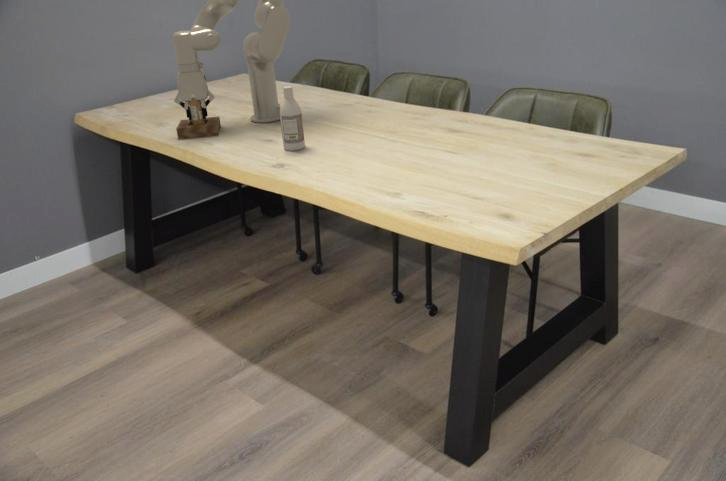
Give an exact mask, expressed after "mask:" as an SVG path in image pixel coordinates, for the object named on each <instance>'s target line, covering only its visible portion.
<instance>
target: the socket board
mask: <svg viewBox="0 0 726 481" xmlns="http://www.w3.org/2000/svg"><path fill="white" fill-rule="evenodd" d="M204 122H205V124H200V125H193V123H192V120H191V121H189V118H186V119H180V121H179V122H178V125H177V127H176V129H175V130H176V135H177V140H179V141H180V140H190V139H198V138H199V139H200V138H209V137H211V138H212V137H218V136H219V135H220V131H221V127H222V124H221V118H220V116H209V117H208V116H207V117H206V119H204Z"/></svg>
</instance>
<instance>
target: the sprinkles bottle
mask: <svg viewBox="0 0 726 481" xmlns="http://www.w3.org/2000/svg"><path fill="white" fill-rule="evenodd" d="M191 97H195V95H194V94H192V95H191ZM191 99H192V100H191V101H189V107H190V113H191V118H192V123H193V125H200V124H205V122H204V119H203V114H202V104H201V101H200V100H196V99H195V98H191Z"/></svg>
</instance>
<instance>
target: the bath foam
mask: <svg viewBox="0 0 726 481" xmlns="http://www.w3.org/2000/svg"><path fill="white" fill-rule="evenodd" d="M282 90H283V91H282V92H283V98H284V99H283V100H282V102H281V105H280V120H279V122H280V126H281V137H282V144H283V148H284V150H286V151H287V152H289V151H290V152H292V151H293V152H295V151H300V150H303V149H304V148H305V147H306V143H305V132H304V123H303V115H302V114H303V113H302V109H301V106H300V104H299V103H298V101H297V100H296V99H295V98H294V91H293V86H292V85H285V86H283V87H282Z"/></svg>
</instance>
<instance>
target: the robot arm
mask: <svg viewBox="0 0 726 481" xmlns="http://www.w3.org/2000/svg"><path fill="white" fill-rule="evenodd" d="M239 2H240V0H208V1H207V2H206V4H205V5H204V6H203V7H202V8H201V10H200V11H199V13H198V14H197V16H196V18H195V20H194V22H193V24H192V26H191V28H190V30H180V31H176V32H174V33H173V34H172V40H173V46H174V52H175V53H174V54H175V57H176V58H175V59H176V64H177V69H178V72H177V74H176V82H177V94H176V97H175V98H174V100H173V101H174V103H175V104H177V105H179V106H180V107H182V108H183V109H184V110H185V113H186V117H187V118H186V119H189V121H191V120H192V118H191V113H190V107H189V101H191V100H192V99H191V98H195V99H196V100H200V101H201V105H202V114H203V119H206V118H207V117H208V111H207V110H208V109H207V107H208V106H209V104H210V103H211V102H212V101H213V100H214V99H215V98H216V97H215V94H213V93H212V92H211V91H210V90H209V86H208V82H207V77H206V75H205V72H204V70H203V69H202V68H205V63H204V62H203V63H202V62H200V58H199V52H205V51H214V50H216V49H217V48H218V47H219V45H220V43H221V36H220V34H219V32H217V30H215V28H216V26H217V25H218V23H219V22H220V21H221V20H222V18H224V17H226V16H227V15H228V14H231V12H233V11H234V10H235V9H236V7H237V5H238V3H239ZM284 2H285V0H258V2H257V6H256V8H255V12H254V23H255V25H256V26H257V27H258V28H259V29H261V31H260V32H259V31H258V32H256V31H255V32H250V33H249V34H247V35H246V37H245V38H244V40H243V44H242V50H243V54H244V58H245V62H246V66H247V71H248V73H247V74H248V78H249V79H248V80H249V87H250V93H251V100H252V107H253V114H252V115H251V116H250V117H249V118H250V121H251V122H253V123H261V124H262V123H271V122H276V121H280V107H281V105H280V103H279V98H278V90H277V80H276V73H275V66H274V62H275V61H277V60H278V59H279V57H280V56H281V54H282V52H283V49H284V46H285V42H286V39H287V35H288V33H289V29H290V25H291V17H290V16H291V15H290V13H289V10H288V9H287V8H286V7H285V6H284ZM192 94H194V95H195V97H191V95H192Z"/></svg>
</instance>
